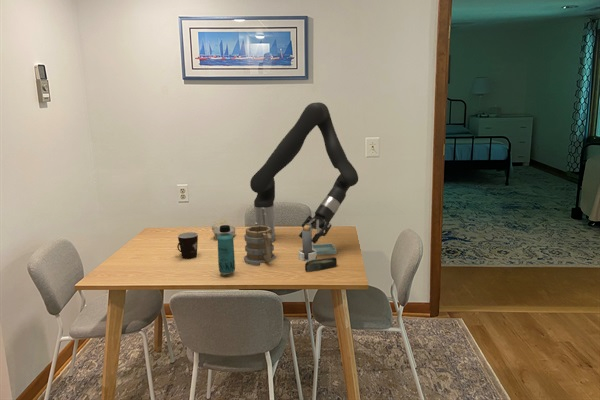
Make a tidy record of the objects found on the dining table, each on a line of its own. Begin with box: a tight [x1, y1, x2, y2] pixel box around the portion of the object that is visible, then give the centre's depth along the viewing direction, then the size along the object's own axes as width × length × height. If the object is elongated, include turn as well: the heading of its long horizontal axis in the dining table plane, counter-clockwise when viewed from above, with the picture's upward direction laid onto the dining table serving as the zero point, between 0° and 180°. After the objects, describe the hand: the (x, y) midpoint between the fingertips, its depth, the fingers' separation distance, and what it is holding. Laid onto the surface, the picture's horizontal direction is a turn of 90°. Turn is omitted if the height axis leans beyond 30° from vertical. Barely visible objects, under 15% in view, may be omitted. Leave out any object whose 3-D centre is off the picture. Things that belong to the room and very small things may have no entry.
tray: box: [312, 243, 338, 256], centre depth 207 cm, size 10×10×2 cm
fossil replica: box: [211, 220, 236, 239], centre depth 232 cm, size 12×8×10 cm
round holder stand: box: [297, 248, 318, 262], centre depth 198 cm, size 8×8×4 cm
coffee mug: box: [176, 231, 199, 260], centre depth 204 cm, size 12×9×10 cm
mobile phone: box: [304, 256, 338, 273], centre depth 185 cm, size 5×3×15 cm
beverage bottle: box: [216, 224, 236, 275], centre depth 183 cm, size 6×7×20 cm
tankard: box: [243, 225, 277, 266], centre depth 195 cm, size 20×13×15 cm, turn 22°
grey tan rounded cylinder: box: [301, 224, 313, 260], centre depth 197 cm, size 4×4×14 cm
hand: (306, 240), depth 196 cm, fingers open, 8 cm apart
